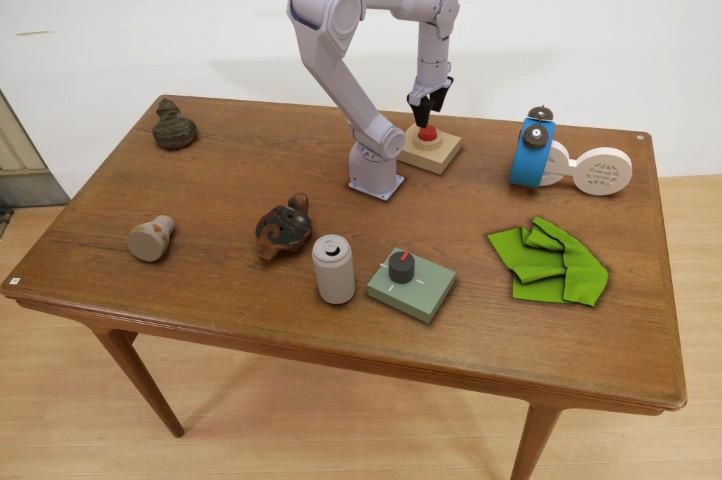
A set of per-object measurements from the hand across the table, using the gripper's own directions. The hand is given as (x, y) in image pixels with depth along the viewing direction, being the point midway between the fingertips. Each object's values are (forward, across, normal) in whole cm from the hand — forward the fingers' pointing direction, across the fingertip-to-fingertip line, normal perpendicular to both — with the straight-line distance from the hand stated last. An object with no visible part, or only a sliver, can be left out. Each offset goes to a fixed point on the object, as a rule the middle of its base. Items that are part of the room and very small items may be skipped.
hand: (428, 118), depth 101 cm
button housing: (+9, 0, 0) cm, 9 cm away
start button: (+5, 0, 0) cm, 5 cm away
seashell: (+9, -25, +54) cm, 60 cm away
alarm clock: (+9, +2, -22) cm, 24 cm away
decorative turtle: (+9, -37, +11) cm, 40 cm away
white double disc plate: (+9, +4, -30) cm, 32 cm away
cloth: (+9, -17, -33) cm, 38 cm away
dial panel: (+9, -35, -15) cm, 39 cm away
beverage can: (+9, -42, -4) cm, 43 cm away
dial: (+6, -35, -13) cm, 38 cm away
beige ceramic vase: (+9, -50, +33) cm, 61 cm away
